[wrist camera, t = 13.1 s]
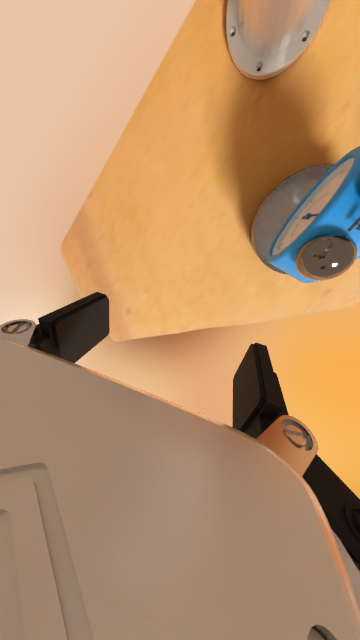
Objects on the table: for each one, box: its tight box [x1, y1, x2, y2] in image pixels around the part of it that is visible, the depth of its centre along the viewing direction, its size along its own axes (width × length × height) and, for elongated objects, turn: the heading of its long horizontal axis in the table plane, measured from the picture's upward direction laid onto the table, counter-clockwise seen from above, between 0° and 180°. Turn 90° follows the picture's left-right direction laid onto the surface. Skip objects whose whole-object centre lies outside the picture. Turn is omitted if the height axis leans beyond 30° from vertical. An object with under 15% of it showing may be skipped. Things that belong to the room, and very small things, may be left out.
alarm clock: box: [267, 146, 360, 283], centre depth 21 cm, size 13×6×15 cm, turn 154°
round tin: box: [251, 164, 334, 274], centre depth 30 cm, size 15×15×6 cm
